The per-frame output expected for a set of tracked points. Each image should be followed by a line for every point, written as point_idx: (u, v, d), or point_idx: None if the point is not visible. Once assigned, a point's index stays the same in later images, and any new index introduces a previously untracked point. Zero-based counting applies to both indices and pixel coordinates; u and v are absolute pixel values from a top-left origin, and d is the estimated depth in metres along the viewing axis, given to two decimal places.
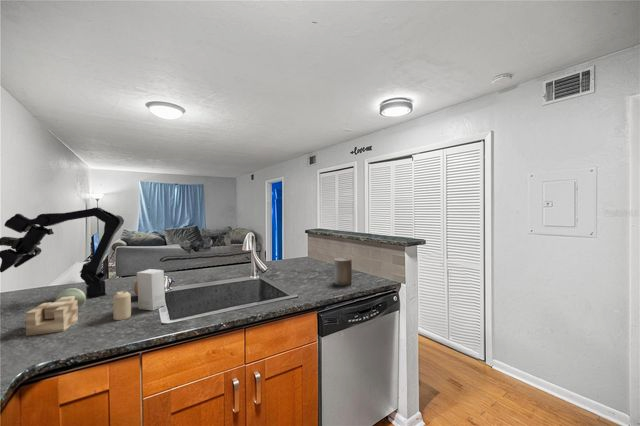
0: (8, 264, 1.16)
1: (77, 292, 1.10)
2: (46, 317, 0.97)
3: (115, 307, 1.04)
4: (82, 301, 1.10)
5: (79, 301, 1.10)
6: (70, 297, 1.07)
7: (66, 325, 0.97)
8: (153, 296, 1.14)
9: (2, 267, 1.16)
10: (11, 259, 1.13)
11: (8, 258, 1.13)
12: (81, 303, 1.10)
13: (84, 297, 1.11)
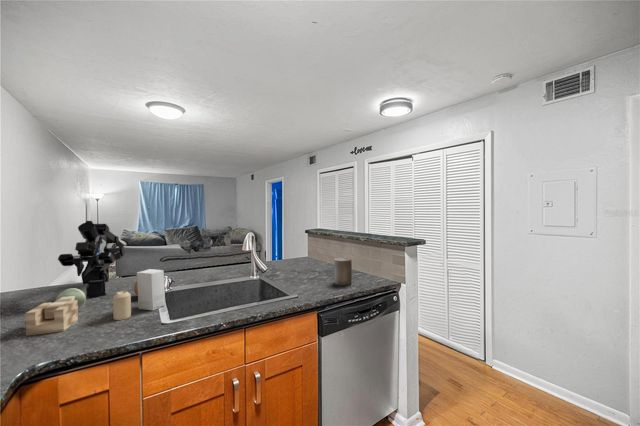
0: (91, 267, 1.22)
1: (77, 292, 1.10)
2: (46, 317, 0.97)
3: (115, 307, 1.04)
4: (82, 301, 1.10)
5: (79, 301, 1.10)
6: (70, 297, 1.07)
7: (66, 325, 0.97)
8: (153, 296, 1.14)
9: (87, 270, 1.20)
10: (113, 260, 1.27)
11: (112, 259, 1.27)
12: (81, 303, 1.10)
13: (84, 297, 1.11)
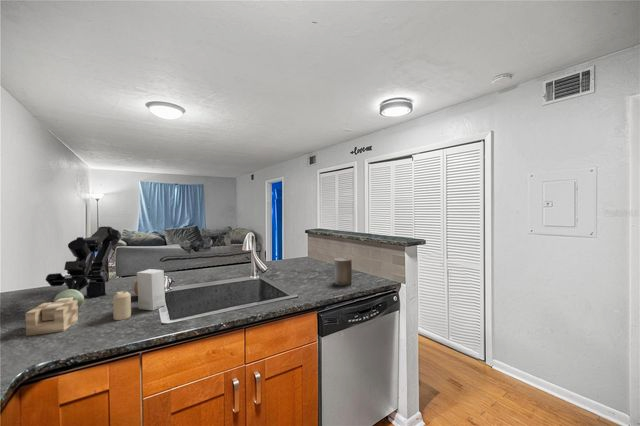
0: (79, 288, 1.14)
1: (75, 293, 1.08)
2: (43, 319, 0.96)
3: (115, 307, 1.04)
4: (80, 302, 1.09)
5: None
6: (68, 298, 1.06)
7: (66, 325, 0.97)
8: (153, 296, 1.14)
9: None
10: (105, 279, 1.19)
11: (105, 278, 1.18)
12: (79, 304, 1.09)
13: (82, 298, 1.10)
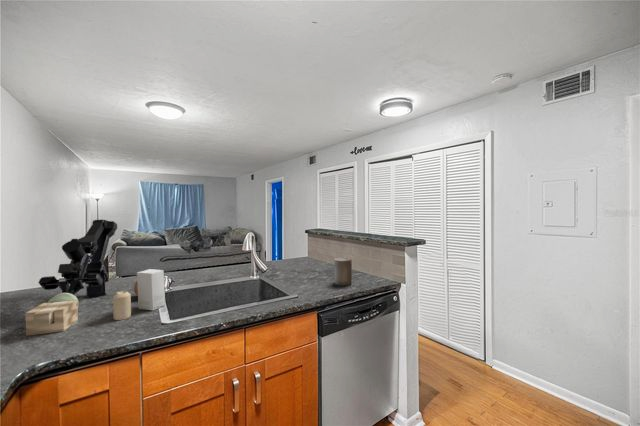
0: (74, 291, 1.09)
1: (69, 297, 1.04)
2: (35, 324, 0.91)
3: (115, 307, 1.04)
4: None
5: None
6: (62, 302, 1.02)
7: (66, 325, 0.97)
8: (153, 296, 1.14)
9: None
10: (101, 282, 1.15)
11: (100, 281, 1.14)
12: None
13: None
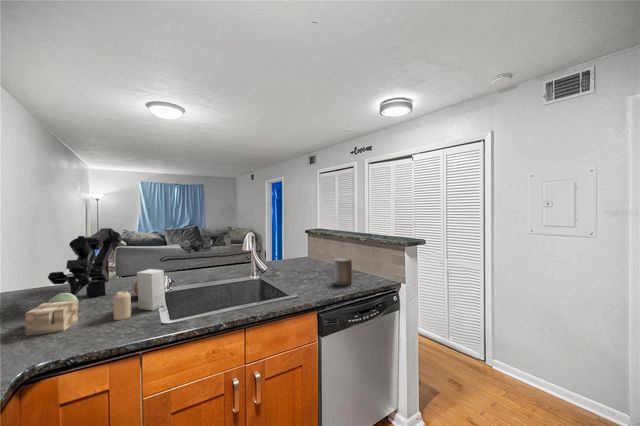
0: (81, 286, 1.15)
1: (69, 297, 1.04)
2: (35, 324, 0.91)
3: (115, 307, 1.04)
4: None
5: None
6: (62, 302, 1.02)
7: (66, 325, 0.97)
8: (153, 296, 1.14)
9: (77, 289, 1.13)
10: (107, 277, 1.21)
11: (106, 276, 1.20)
12: None
13: None
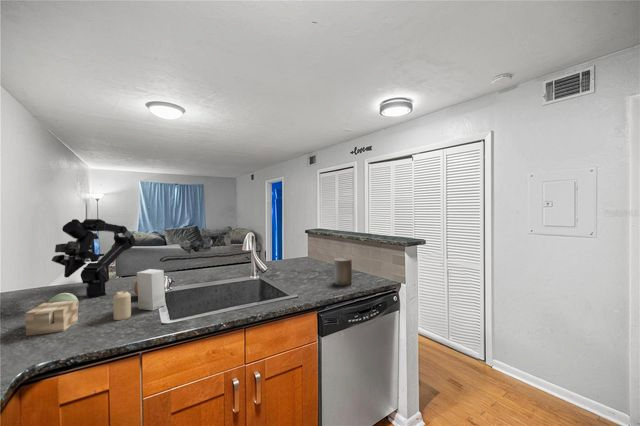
0: (76, 267, 1.19)
1: (69, 297, 1.04)
2: (35, 324, 0.91)
3: (115, 307, 1.04)
4: None
5: None
6: (62, 302, 1.02)
7: (66, 325, 0.97)
8: (153, 296, 1.14)
9: (70, 271, 1.17)
10: (96, 258, 1.20)
11: (94, 257, 1.19)
12: None
13: None
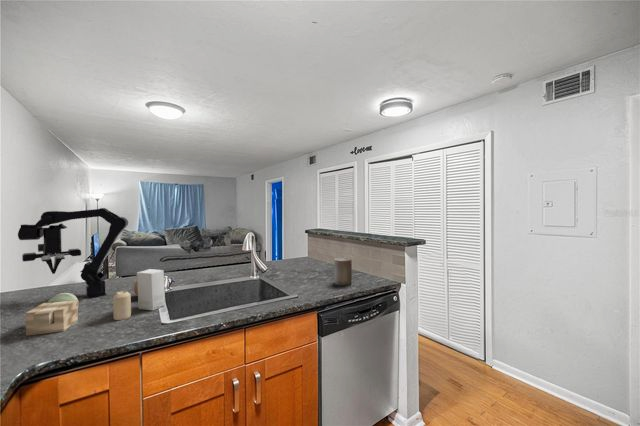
0: None
1: (69, 297, 1.04)
2: (35, 324, 0.91)
3: (115, 307, 1.04)
4: None
5: None
6: (62, 302, 1.02)
7: (66, 325, 0.97)
8: (153, 296, 1.14)
9: None
10: (22, 259, 1.16)
11: (22, 259, 1.17)
12: None
13: None
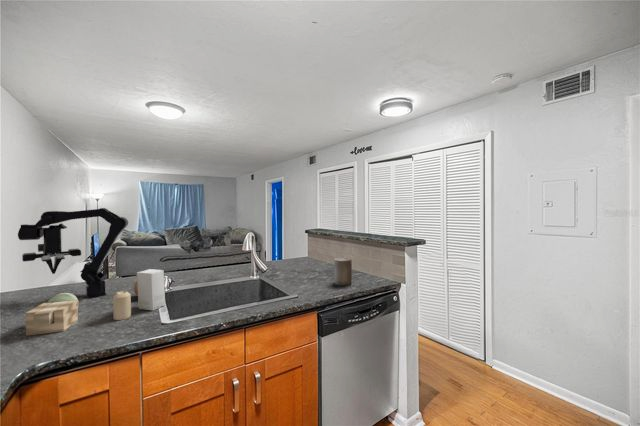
0: None
1: (69, 297, 1.04)
2: (35, 324, 0.91)
3: (115, 307, 1.04)
4: None
5: None
6: (62, 302, 1.02)
7: (66, 325, 0.97)
8: (153, 296, 1.14)
9: None
10: (22, 259, 1.16)
11: (22, 259, 1.17)
12: None
13: None
